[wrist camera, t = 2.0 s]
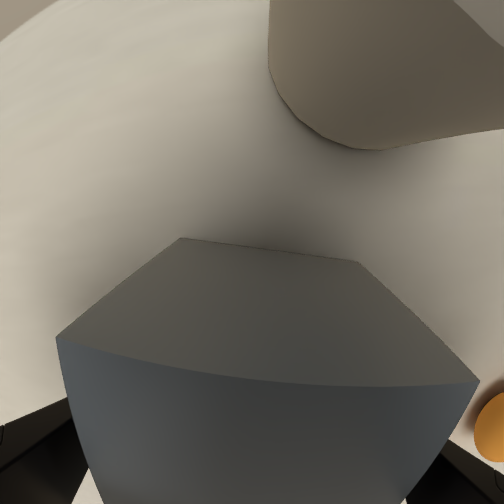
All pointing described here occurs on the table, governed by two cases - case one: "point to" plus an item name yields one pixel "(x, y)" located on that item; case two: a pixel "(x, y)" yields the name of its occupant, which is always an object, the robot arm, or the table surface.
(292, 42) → the can
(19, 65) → the table surface
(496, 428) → the ball
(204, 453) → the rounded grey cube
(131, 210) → the table surface
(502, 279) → the table surface
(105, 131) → the table surface
